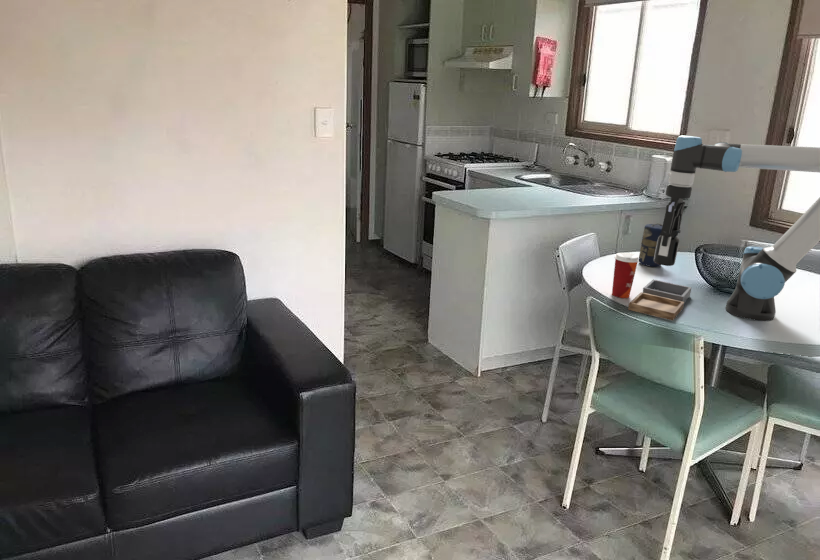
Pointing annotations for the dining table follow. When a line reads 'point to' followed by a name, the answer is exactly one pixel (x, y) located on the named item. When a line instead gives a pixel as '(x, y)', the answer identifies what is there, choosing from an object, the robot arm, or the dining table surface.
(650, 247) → the canister
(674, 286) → the holder box
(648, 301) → the tray
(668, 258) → the supplement bottle
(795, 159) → the robot arm
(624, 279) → the coffee cup
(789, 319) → the dining table surface
